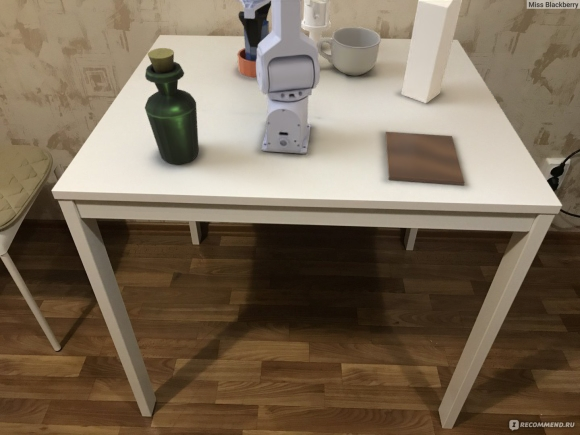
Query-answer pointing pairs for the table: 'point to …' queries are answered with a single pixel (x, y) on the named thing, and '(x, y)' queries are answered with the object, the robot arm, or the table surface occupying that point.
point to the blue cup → (252, 51)
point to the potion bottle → (171, 109)
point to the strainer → (316, 18)
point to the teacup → (352, 49)
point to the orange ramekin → (246, 65)
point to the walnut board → (422, 158)
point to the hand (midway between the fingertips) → (257, 41)
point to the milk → (430, 48)
